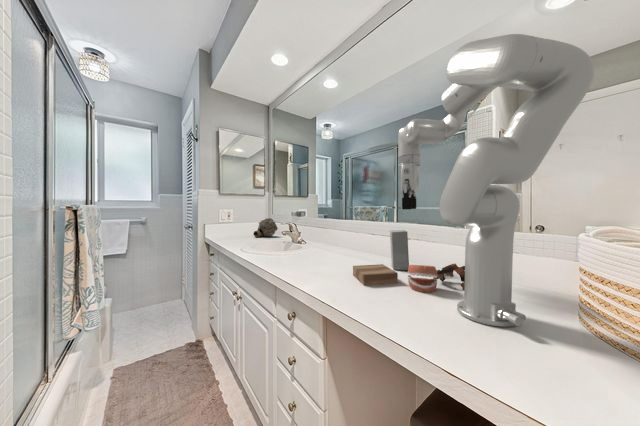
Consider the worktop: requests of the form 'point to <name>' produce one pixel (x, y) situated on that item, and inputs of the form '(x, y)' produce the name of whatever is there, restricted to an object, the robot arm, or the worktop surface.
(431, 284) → the dentures
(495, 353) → the worktop surface
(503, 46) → the robot arm
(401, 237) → the skincare box
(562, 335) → the worktop surface
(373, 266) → the walnut base
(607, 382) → the worktop surface
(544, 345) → the worktop surface
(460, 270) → the dark brown jagged part
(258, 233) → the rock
